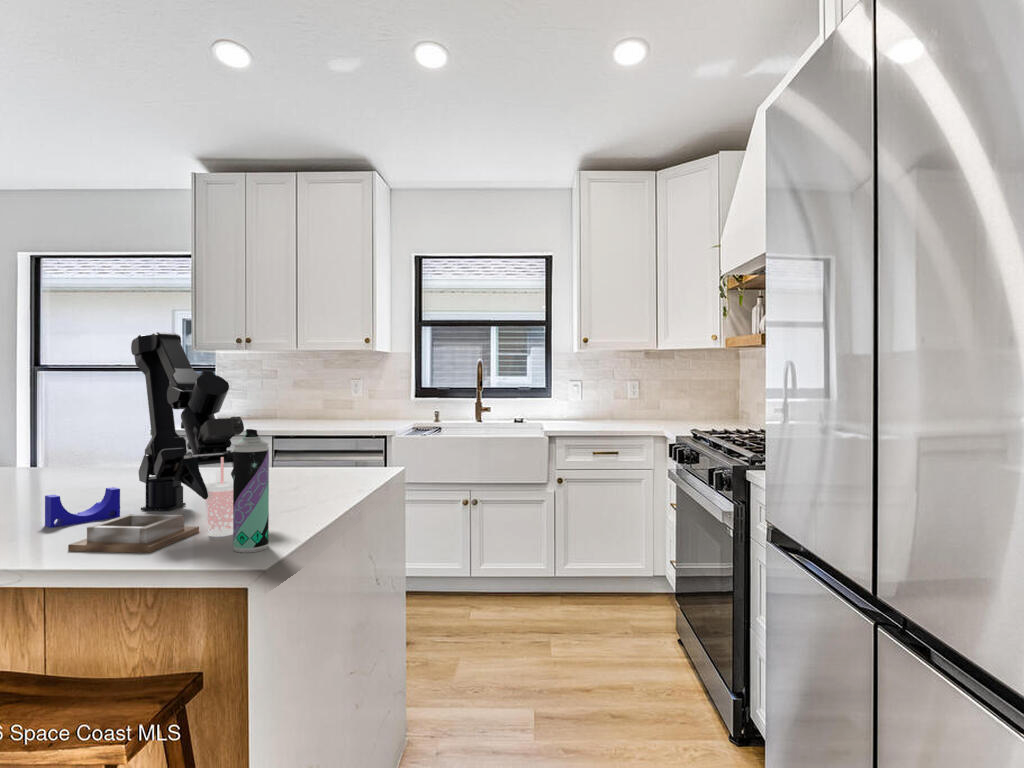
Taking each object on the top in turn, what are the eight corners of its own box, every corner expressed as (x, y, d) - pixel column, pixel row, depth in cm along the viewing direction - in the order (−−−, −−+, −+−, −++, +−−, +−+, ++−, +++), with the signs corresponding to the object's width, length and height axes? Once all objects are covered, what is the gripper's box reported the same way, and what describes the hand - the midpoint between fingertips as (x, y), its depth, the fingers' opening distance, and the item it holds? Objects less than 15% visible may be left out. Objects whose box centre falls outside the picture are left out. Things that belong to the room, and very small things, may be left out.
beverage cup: (245, 533, 113) (245, 457, 113) (209, 539, 109) (209, 460, 109) (233, 527, 118) (233, 454, 118) (198, 533, 114) (198, 456, 114)
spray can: (225, 551, 102) (225, 429, 102) (248, 542, 107) (249, 427, 107) (253, 553, 100) (253, 430, 100) (275, 545, 106) (275, 428, 106)
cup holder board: (68, 550, 102) (68, 529, 102) (126, 530, 116) (126, 511, 116) (149, 552, 101) (149, 531, 101) (199, 531, 115) (199, 513, 115)
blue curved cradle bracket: (110, 515, 130) (110, 486, 130) (120, 517, 127) (120, 488, 127) (42, 525, 120) (42, 494, 120) (50, 528, 118) (50, 497, 118)
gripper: (159, 403, 109) (180, 473, 102) (263, 401, 123) (288, 462, 115) (145, 444, 115) (164, 513, 107) (246, 438, 128) (269, 499, 121)
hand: (225, 495), depth 112 cm, fingers closed on beverage cup, 6 cm apart
